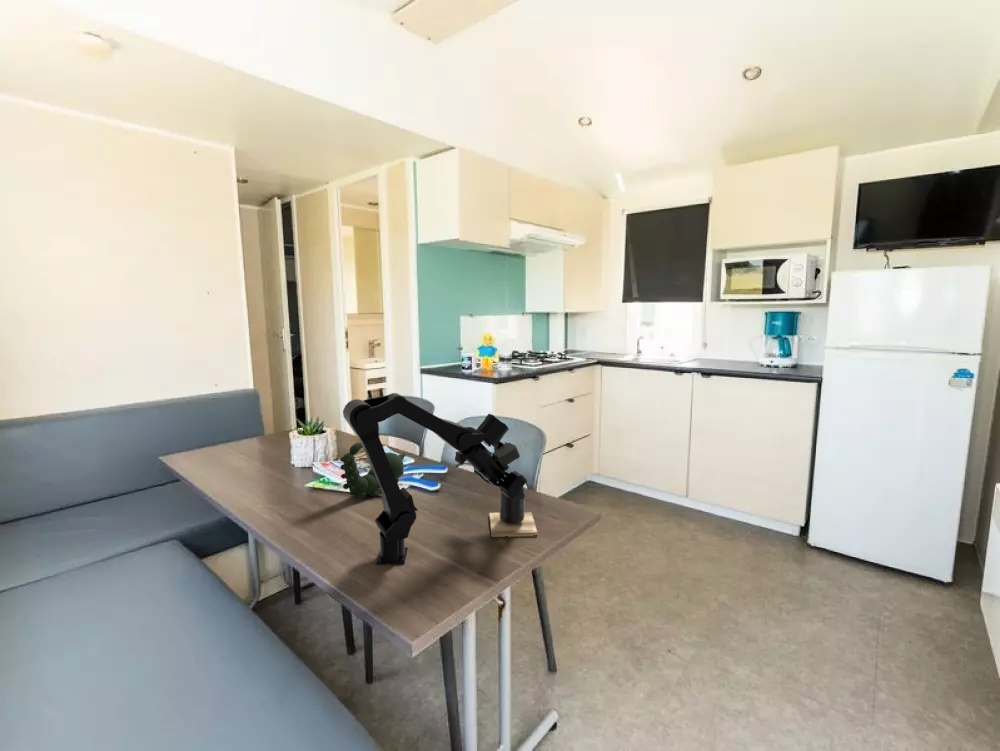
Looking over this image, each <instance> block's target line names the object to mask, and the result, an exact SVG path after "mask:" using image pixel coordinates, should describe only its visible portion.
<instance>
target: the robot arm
mask: <svg viewBox="0 0 1000 751" xmlns="http://www.w3.org/2000/svg"><path fill="white" fill-rule="evenodd" d="M342 414H343V418H344V419H345V421H346V422H347V424H348V426H349V427H350V429H351V430H352V431H353V433H354V434H355V436H356V437H357V438H358V440H359V441H360V443H362V446H363V448H362V449H363V451H364V452H365V455H366V457H367V460H368V462H369V464H370V467H371V469H372V470H373V472H374V475H375V477H376V479H377V482H378V484H379V486H380V491H381V500H382V501H381V504H382V507H383V510H382V511H381V513H380V514H379V515H378V516H377V517H376V518H375V520H374V523H375V524H376V527H377V528H378V529H379V531H380V532H379V553H378V556H377V559H376V564H377V565H393V564H394V565H395V564H397V565H398V564H403V565H404V564H405V563H406V560H407V555H408V551H409V547H405V546H406V544H405V542H406V541H405V539H407V538H408V537H409V535H410V532H411V528H412V526H413V525H414V524H415V522H416V520H417V513H416V512H417V511H419V510H418V508H417V507H416V506H415V503H414V499H413V496H412V494H411V493H410V492H409V491H408V490H407V489H406V488H405V487H404V486H403V487H402V488H400V485H399V482H398V483H397V481H396V478H395V476H394V473H393V471H392V468H391V466H390V463H389V461H388V458H387V456H386V453H387V452H386V451H385V449H384V446H383V444H382V443H383V442H382V440H381V438H380V426H379V423H381V422H384V421H386V420H387V419H389V418H391V417H393V416H395V415H398V414H400V415H401V416H403V417H405V418H407V419H408V420H410V421H412V422H414V423H416V424H418V425H419V426H421V427H423V428H425V429H427V430H428V431H431V432H433V433H434V434H435V435H436V436H437V437H439V438H440V439H441V440H442V441H444V442H445V443H446V444H447V445H449V446H450V447H451V448H454V449H455V450H456V451H455V456H454V461H455V462H456V463H458V464H459V465H460V466H461V465H462V466H463V465H464V464H465V462H468V464H470V465H471V466H472V467H473V468H472V469H473V473H474V474H475V475H476V476H477V477H479V478H480V479H481V480H483V481H484V482H486V483H488V484H490V485H493V486H497V487H498V488H500V490H499V492H500V491H501V492H502V493H503V494H505V495H506V496H508V497H509V498H510V499H513V498H519V499H524V498H525V499H526V493H525V494H524V492H523V490H522V487H524V486H525V485H526V484H527V481H528V479H527V478H526V477H525V476H524V475H523V474H521V473H519V472H518V471H516V470H514V471H510V472H507V471H508V470H509V469H510V466H509V464H512V462H514V461H516V460H518V459H519V458H520V457H521V454H520V452H519V451H518V448H517V445H516V444H513V443H511V442H506V441H505V442H502V441H501V440H502V439H503V438H504V437H505V435H506V434H507V433H508V431H510V428H509V427H508V425H507V424H506V423H505V422H502V421H501V420H500V419H499V418H497V417H495V415H493V414H492V413H488V414H487V415H486V416H485V418H484V420H483V421H482V422H481V424H479V426H478V427H477V428H474V427H472V426H464V425H462V424H460V423H459V422H455V421H451V420H448V419H444V418H441V417H439V416H436V415H435V414H433V413H431V412H429V411H428V410H426V409H424V408H422V407H421V406H419V405H416V404H415V403H413V402H411V401H409V400H407V399H406V397H404V396H403V395H402V394H399V393H397V392H391V393H390V394H386V395H382V396H375V397H371V398H366V399H351V400H350V401H348V402H347V403H346V404H345V406H344V407H343V410H342ZM491 446H492V447H493V452H491V451H490V450H489V449H488V448H490V447H491ZM487 447H488V448H487ZM505 476H506V477H505Z"/></svg>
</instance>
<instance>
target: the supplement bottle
mask: <svg viewBox="0 0 1000 751" xmlns="http://www.w3.org/2000/svg"><path fill="white" fill-rule="evenodd" d="M505 477H506V476H505ZM522 490H523V492H524V494H525V495H526V489H525V487H524V486H523V487H522ZM525 503H526V497H525V498H524V499H519V498H513V499H510V498H509V497H508V496H506V495H505V494H503V493H502V492H501V491H500V490H499V513H500V519H501V520H502V521H503V522H505V523H509V524H516V523H520V522H522V521H523V520H524V513H525V512H526V510H525V506H526V505H525Z"/></svg>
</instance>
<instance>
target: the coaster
mask: <svg viewBox="0 0 1000 751" xmlns="http://www.w3.org/2000/svg"><path fill="white" fill-rule="evenodd" d="M535 522H536V521H535V520H534V516H533V513H532V512H530V511H527V512H526V511H525V513H524V520H523V521H522V522H520V523H516V524H509V523H505V522H503V521H502V520H501V519H500V512H489V524H490V532H491V533H490V534H491V538H494V537H495V538H496V537H498V538H499V537H503V538H504V537H505V536H508V537H534V536H533V535H537V536H538V530H537V526H536V524H535ZM527 535H529V536H527Z"/></svg>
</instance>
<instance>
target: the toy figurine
mask: <svg viewBox="0 0 1000 751" xmlns="http://www.w3.org/2000/svg"><path fill="white" fill-rule="evenodd" d="M361 449H364V448H363V446H362V443H361V442H356V443H354V444H352V445H351V446H350V448H349V449H348V450H349V452H347V453H345V454H343V456H341V457H340V458H339V461H340V462H342V463H343V464H341V465H340V469H341V470H343V471H344V473H342V474H341V476H340V477H341V478H342V479H343V480H344V479H346V483H344V484H342V488H343V489H344V490H348V489H349V490H348V491H349V493H350V495H351V496H356V495H358V497H359V499H364V498H366V496H367V495H369V496H371V497H372V498H374V497H376V496H377V495H378V490H379V489H380V486H379V484H378V482H377V479H376V477H375V475H374V472H373V470H372V468H371V469H369V471H368V472H367V473H366V474H365V475H362V476H361V475H360V470H358V463H357V462H356V461H355V459H356V457H355V455H357V454H358V453H359V451H360V450H361ZM385 453H386V456H387V458H388V461H389V463H390V466H391V468H392V471H393V473H394V476H395V478H396V481H397V483H398V484H399V479H400V478H401V476H403V475H404V474H405V473H404V472H405V471H404V468H405V467H404V466H405V465H404V462H403V460H404V458H405V457H406V453H401V454H396V453H394V452H385ZM380 490H381V489H380Z"/></svg>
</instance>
